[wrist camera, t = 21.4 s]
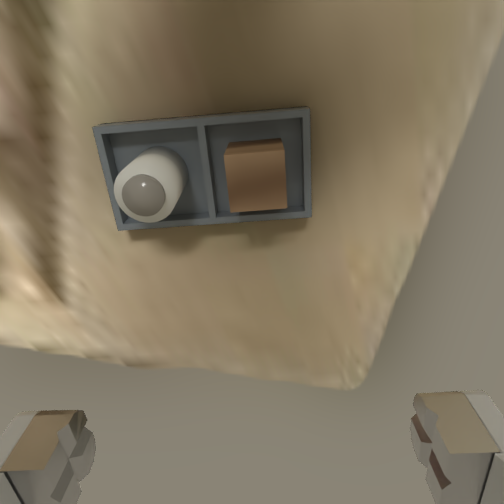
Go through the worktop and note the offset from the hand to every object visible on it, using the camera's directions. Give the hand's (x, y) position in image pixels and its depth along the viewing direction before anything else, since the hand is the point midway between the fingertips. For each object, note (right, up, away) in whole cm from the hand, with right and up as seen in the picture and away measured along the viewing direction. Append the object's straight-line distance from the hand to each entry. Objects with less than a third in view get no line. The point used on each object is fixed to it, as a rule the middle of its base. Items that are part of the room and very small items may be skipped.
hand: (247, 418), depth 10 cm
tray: (-4, +12, +25) cm, 28 cm away
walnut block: (+1, +12, +25) cm, 27 cm away
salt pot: (-8, +11, +25) cm, 28 cm away
